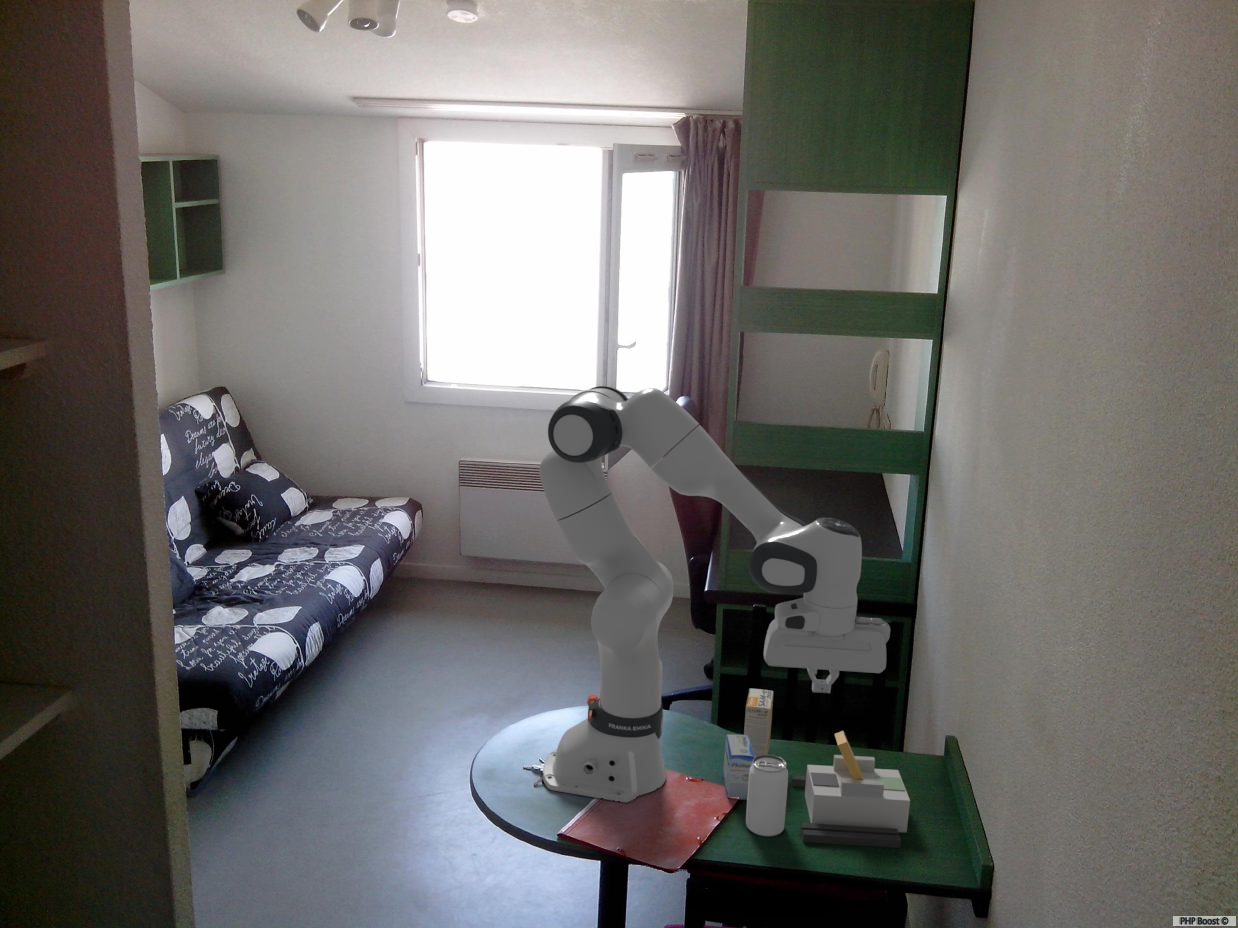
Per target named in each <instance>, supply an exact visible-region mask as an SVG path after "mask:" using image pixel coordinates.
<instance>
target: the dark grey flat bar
mask: <svg viewBox="0 0 1238 928" xmlns="http://www.w3.org/2000/svg"><path fill="white" fill-rule="evenodd" d="M899 833H900V832H898V830H897V829H893V828H877V827H861V826H845V825H829V824H813V823H811V822H801V823H800V835H801V839H802V843H813V844H814V843H815V844H833V845H846V846H847V845H848V846H863V847H876V848H877V847H879V848H896V849H897V848H898V849H900V848H901V845H902V839H901V836H900V835H899Z"/></svg>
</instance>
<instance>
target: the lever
mask: <svg viewBox="0 0 1238 928" xmlns="http://www.w3.org/2000/svg"><path fill="white" fill-rule="evenodd" d="M834 737H835V740H836V743H837V747H838V749H839V752H840V753H841V754H840V755H842V756H843V758H844V760H845V763H846V765H847V767H848V769H849V772H850V774H851V776H852V778H853V780H864V779H863V776H862V773H861V770H860V767H859V766H858V763H857V761H856V759H855V756H856V755H854V752H853V750H852V747H851V746H850V743H849V741H848V738H847V736H846V733H845V732H844V730H841V731H839V732H836V733H834Z"/></svg>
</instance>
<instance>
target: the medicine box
mask: <svg viewBox="0 0 1238 928" xmlns="http://www.w3.org/2000/svg"><path fill="white" fill-rule="evenodd" d="M724 745H725V746H724V756H723V757H724V759H723V769H722V778H723V782H724V788H725V791H726V792H725V793H726V797H739V798H740V799H739V800H744V801H745V800H746V801H747V798H748V784H749V772H750V767H751V765H752V764H753V759H754V758H755V756H754V753H753V749H752V745H751V741H750V736H748V735H744V734H726V736H725V744H724Z"/></svg>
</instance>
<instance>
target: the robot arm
mask: <svg viewBox="0 0 1238 928" xmlns="http://www.w3.org/2000/svg"><path fill="white" fill-rule="evenodd" d="M547 438H548V441H549V444H550V446H551V448H552V449H553V450H551V451H550V452H548V454H546V455H545V457H543V459H542V461H541V463H540V464H539V469H538V474H539V478H540V482H541V486H542V488H543V492H544V494H545V498H546V500H547V502H548V505H549V507H550V509H551V513H552V514H553V516H554V518H555V520H556V522H557V524H558V526H559V528H560V530H561V532H562V534H563V536H564V538H565V540H566V541H567V543H568V546H569V547H570V549H571V552H572V554H573V555H574V557H575V558H576V560H577V561H578V562H579V563H582V564H584V565H585V566H586V567H588V568H589V569H590V570H591V571H592V573H594V575H595V576H596V577H597V578H598V580H599V582H600V583H601V584H602V586H603V588H604V590H603V591H602V592H601V593H600V594H599V596H598V597H597V599H596V601H595V603H594V606H593V609H592V612H591V617H590V626H591V627H590V628H591V631H592V635H593V636H594V637H595V639H596V642H597V647H598V654H599V661H600V679H599V681H600V684H599V696H598V694H596V693H590V694H589V695H588V697H587V701H586V704H587V706H588V707H587V708H588V709H587V718H586V719H584V720H582V721H580V722H579V723H577V724H575V725H574V726H572V727H570V728H568V729H567V730H565V732H564V733H563V735H562V736H561V738H560V740H559V742H558V745H557V748H556V749H555V750H552V751H551V752H550V754H549V755H548V756H547V757H546V759H545V762H544V765H543V770H542V779H543V782H544V785H545V787H546V788H548V790H551V791H554V792H561V793H565V794H566V793H567V794H572V795H578V796H583V797H590V798H596V799H601V798H603V799H602V800H607V801H613V800H614V801H613V802H618V801H620V802H619V803H630V802H632V801H634V800H635V799H637V798H638V797H640V796H642V795H646V794H649V793H651V792H654V791H656V790H658V789H660V787H662V786H663V785H664V783H665V782H666V779H667V772H666V769H665V766H664V760H663V752H662V743H661V742H662V741H661V740H662V739H661V736H662V733H663V731H664V730H663V729H664V728H663V727H664V705H663V703H662V689H663V688H662V687H663V686H662V685H663V663H662V660H661V659H660V653H659V652H660V651H659V645H658V634H659V627H660V625H661V621H662V619H663V617H664V616H665V614H666V613H667V611H668V610H669V608H670V607H671V605H672V602H673V597H674V587H675V585H674V578H673V575H672V573H671V572H670V570H669V569H668V568H667V566H665V565H664V564H663V563H661V562H659V561H658V560H656V559H655V557H654V556H653V555H652V554H651V552H650V551H649V550H648V548H647V547H646V546H645V545H644V544H643V542H642V541H641V540H640V538H639V537H638V536H637V534H636V532H635V531H634V529H633V528H632V526H631V525H630V523H629V520H628V518H627V517H626V515H625V513H624V511H623V509H622V507H621V505H620V503H619V501H618V499H617V497H616V496H615V494H614V492H613V489H612V488H611V486H610V484H609V482H608V480H607V477H606V476H605V473H604V470H603V466H602V462H603V458H604V456H607V455H608V454H610V453H613V452H615V451H616V450H618V449H619V448H620V447H625V448H629V449H630V450H632V451H633V452H635V454H637V455H638V456H639V457H640V458H641V460H642V461H644V463H645V464H646V465H647V466H648V467H649V468H650V469H651V471H652V472H653V473H654V474H655V475H656V476H657V477H658V478H659V479H660V480H661V481H662V482H663V483H664V484H666V486H668V487H670V488H671V489H672V490H673V491H675V492H677V493H678V494H680V495H683V496H687V497H688V496H689V497H697V496H698V497H705V498H706V497H707V498H710V499H712V500H715V501H717V502H719V503H720V504H722V505H723V507H725V508H726V509H727V510H728V511H729V512H730V513H731V514H732V515H734V517H735V518H736V519H737V520H738V521H739V522H740V523H741V524H742V525H743V526H744V527H745V528H746V529H747V530H748V531H750V533H751V534H752V536H753V537H754V539H755V541H756V545H755V546H754V548H753V550H752V552H751V554H750V556H749V561H748V572H749V574H750V577H751V579H752V581H753V582H754V584H755V585H757V586H758V587H759V588H760V589H761V590H763V591H765V592H767V593H771V594H775V595H796V594H797V595H799V594H803V597H800V598H797V599H793V600H788V601H784V602H780V603H777V604H775V607H774V608H775V609H774V619H773V620H772V621H771V622H770V623H769V626H768V627H767V628H768V629H767V630H766V636H765V640H764V645H763V647H764V648H763V659H764V661H765V663H766V664H767V665H768V666H770V667H781V668H782V667H783V668H798V669H806V670H807V673H808V674H807V675H808V676H809V678H810V680H811V690H812V693H821V694H822V693H823V694H831V690H832V685H833V684H834V683H835V681H836V680H837V679H838V678H839V676H840V671H842V672H857V673H870V674H881V673H882V672H883V671H885V669H886V667H887V643H888V641H889V639H890V636H891V627H890V624H889V623H888V622H886V621H885V620H883V619H882V618H879V617H865V616H857V610H858V601H859V600H858V593H857V587H858V583H859V581H860V579H861V572H862V558H863V557H862V555H863V552H862V551H863V549H862V548H863V547H862V546H863V545H862V538H861V534H860V533H859V531H858V529H856V528H855V527H854V526H853V525H851V524H849V523H848V522H846V521H844V520H841V519H837V518H834V517H818V518H817V519H816V520H813V522H811V523H806V522H805V521H804V520H802V519H800V518H798V517H796V516H794V515H791V514H790V513H787V512H785V511H783V509H781V508H779V507H778V506H777V505H776V504H775V503H774V502H773V501H771V499H769V497H767V496H766V494H764V492H763V491H762V490H761V489H759V488H758V486H757V485H756V484H754V482H752V480H751V479H750V478H748V477H747V476H746V475H745V474H744V473H743V472H742V471H741V470H740V469H739V468H738V467H737V466H736V465H735V463H734V462H732V461H731V460H730V458H729V457H728V456H727V455H726V454H725V452H724V451H723V450H722V448H720V446H719V445H718V444H717V443H716V442H715V440H714V439H713V438H712V437H711V436H710V434H709V433H708V432H707V431H706V429H704V427H703V426H701V425H700V423H699V422H698V421H697V420H696V419H695V418H694V417H693V415H692V414H690V413H689V412H688V411H687V410H686V409H685V408H684V407H682V405H680V404H679V403H678V402H676V401H675V400H674V399H673V398H671V397H670V396H669V395H668V394H666V393H665V392H664V391H662V390H660V389H657V388H652V387H651V388H649V387H648V388H645V389H642V390H640V391H637V392H636V393H634V394H633V395H631V396H630V397H629V398H628V397H627V395H625V394H624V392H622V391H620V390H619V389H617V388H614V387H612V386H606V385H604V386H603V385H602V386H601V385H599V386H595V387H592V388H589V389H586V390H584V391H581V392H578V393H577V394H575V395H572V397H571V398H570V399H569V400H567V401H565V402H563V403H562V404H560V405H559V407H557V409H556V410H555V411H554V412H553V414H552V415H551V418H550V419H549V423H548V427H547ZM818 670H825V671H826V670H827V671H829V675H827V677H826V678H825V679H821V678H820V679H819V678H817V677H816V675H817V673H818ZM657 788H658V789H657ZM639 795H640V796H639ZM637 796H638V797H637ZM636 797H637V798H636ZM633 799H634V800H633ZM631 800H632V801H631ZM629 801H630V802H629Z"/></svg>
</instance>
